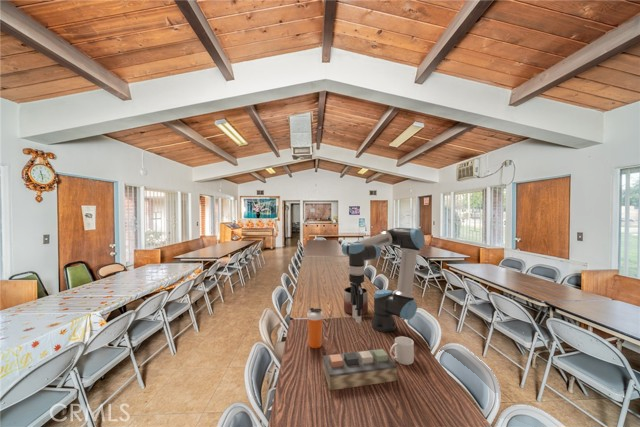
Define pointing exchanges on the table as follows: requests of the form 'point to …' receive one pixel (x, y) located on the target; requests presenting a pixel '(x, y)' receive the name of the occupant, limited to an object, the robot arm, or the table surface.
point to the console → (359, 373)
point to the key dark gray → (350, 359)
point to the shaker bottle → (315, 327)
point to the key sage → (380, 355)
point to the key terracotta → (335, 361)
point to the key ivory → (365, 357)
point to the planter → (348, 304)
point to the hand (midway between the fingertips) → (356, 319)
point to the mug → (403, 350)
